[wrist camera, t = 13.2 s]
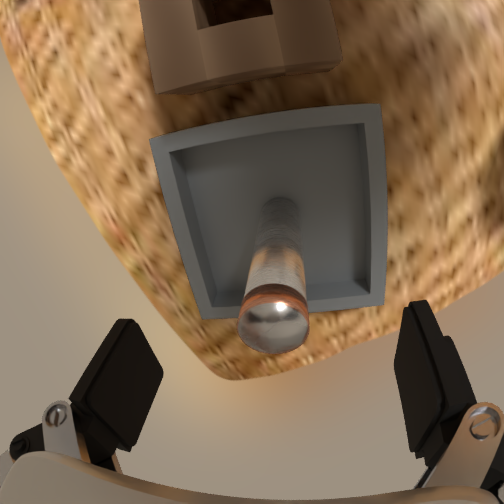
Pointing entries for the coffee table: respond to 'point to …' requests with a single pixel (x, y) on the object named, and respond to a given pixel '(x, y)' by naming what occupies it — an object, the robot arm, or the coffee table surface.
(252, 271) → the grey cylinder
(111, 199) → the coffee table surface
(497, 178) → the coffee table surface
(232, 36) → the hitch block
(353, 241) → the tray
